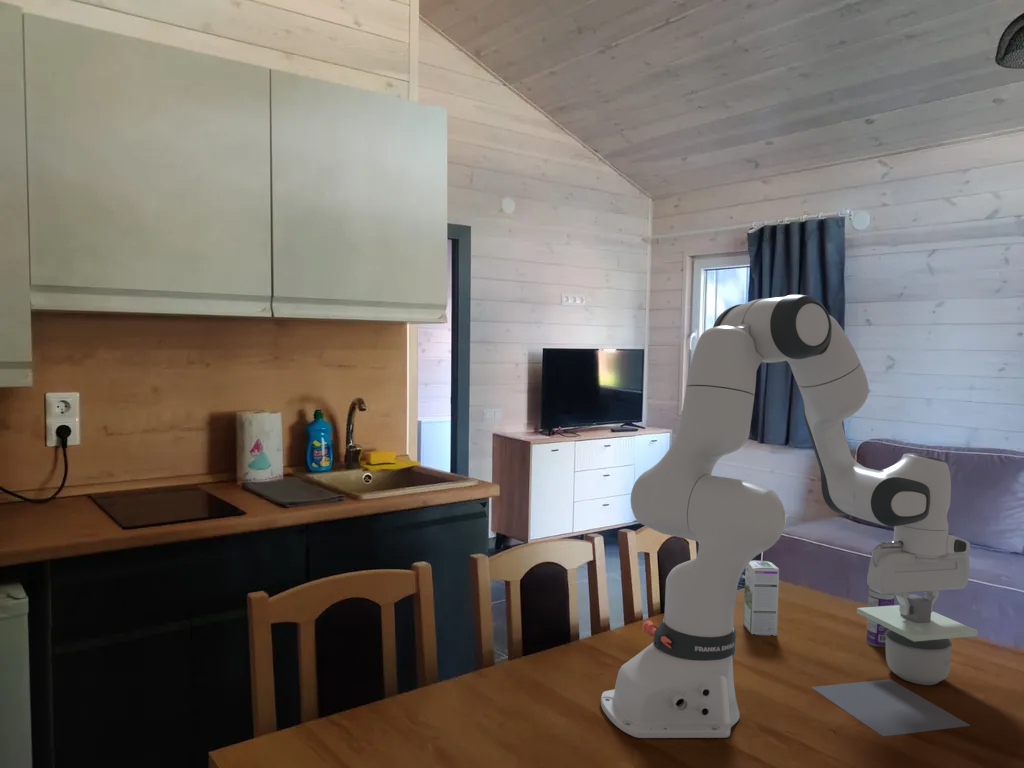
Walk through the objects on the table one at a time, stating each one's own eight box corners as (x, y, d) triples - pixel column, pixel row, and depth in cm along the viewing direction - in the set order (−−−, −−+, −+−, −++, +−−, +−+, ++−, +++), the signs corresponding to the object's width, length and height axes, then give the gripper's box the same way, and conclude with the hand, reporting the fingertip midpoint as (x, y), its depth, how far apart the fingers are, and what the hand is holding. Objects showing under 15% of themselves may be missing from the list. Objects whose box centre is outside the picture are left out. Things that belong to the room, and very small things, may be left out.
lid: (914, 641, 128) (915, 613, 128) (856, 613, 142) (858, 587, 141) (977, 636, 132) (979, 608, 132) (915, 608, 145) (917, 584, 145)
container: (892, 642, 153) (896, 572, 152) (890, 650, 149) (894, 577, 148) (867, 637, 155) (871, 567, 155) (864, 644, 151) (868, 573, 151)
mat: (883, 739, 113) (883, 736, 113) (810, 689, 129) (810, 687, 129) (970, 727, 118) (970, 725, 118) (889, 681, 134) (890, 679, 134)
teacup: (958, 695, 129) (961, 651, 129) (892, 687, 131) (895, 644, 131) (930, 663, 143) (932, 623, 143) (870, 656, 145) (873, 617, 145)
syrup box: (777, 636, 154) (781, 568, 153) (749, 635, 154) (753, 567, 154) (768, 626, 160) (772, 560, 159) (741, 625, 160) (744, 559, 159)
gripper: (887, 546, 130) (882, 623, 131) (977, 543, 136) (973, 616, 136) (861, 537, 136) (857, 610, 137) (949, 534, 142) (944, 604, 142)
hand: (915, 613), depth 137 cm, fingers closed on lid, 3 cm apart
